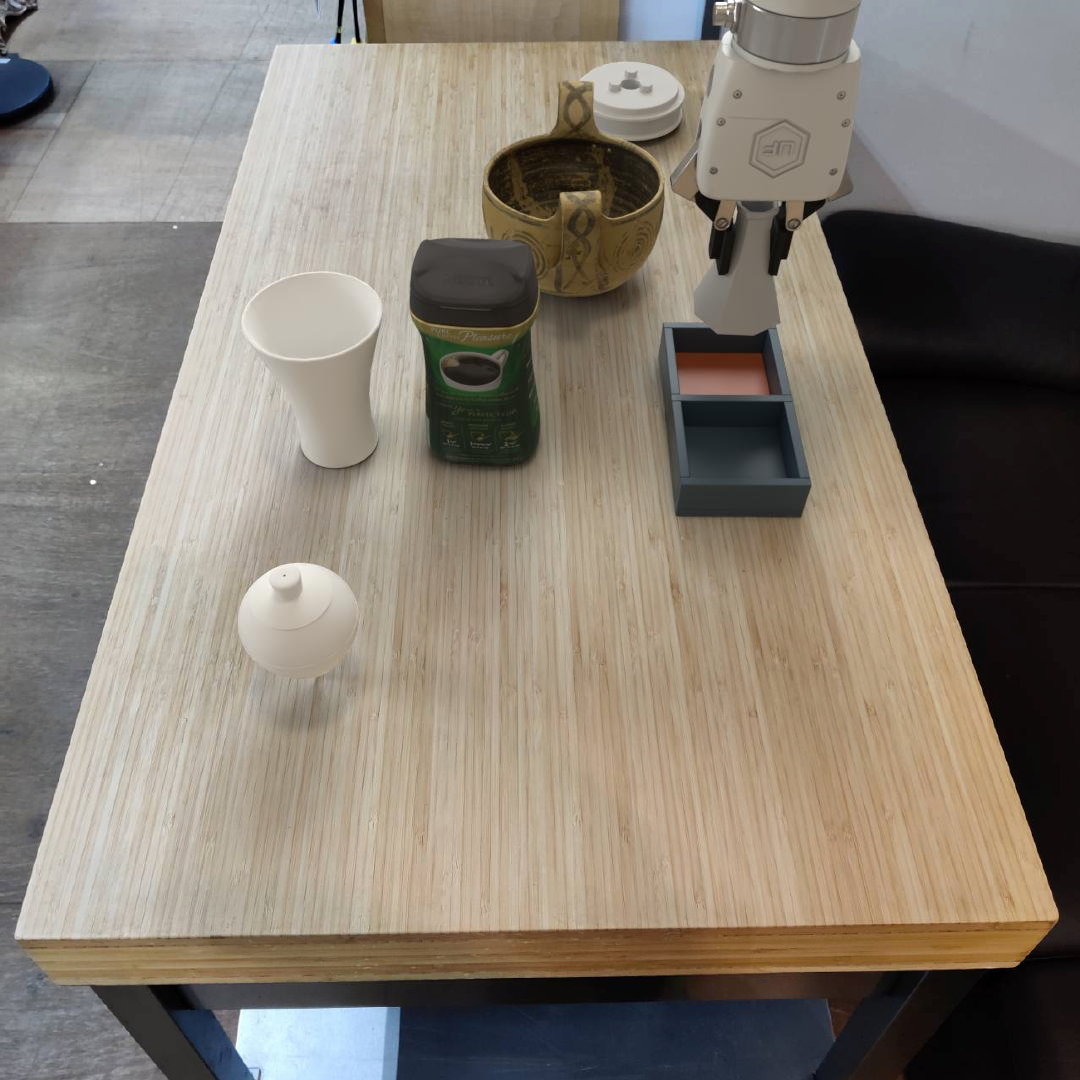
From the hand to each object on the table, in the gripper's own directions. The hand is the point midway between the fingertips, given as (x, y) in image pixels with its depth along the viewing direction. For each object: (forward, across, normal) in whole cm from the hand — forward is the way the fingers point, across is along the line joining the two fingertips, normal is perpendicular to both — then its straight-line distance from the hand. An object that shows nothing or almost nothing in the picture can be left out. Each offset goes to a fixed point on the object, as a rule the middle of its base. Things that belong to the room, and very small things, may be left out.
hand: (745, 262), depth 77 cm
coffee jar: (+14, -21, -6) cm, 26 cm away
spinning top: (+14, -32, -29) cm, 45 cm away
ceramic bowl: (+14, -13, +17) cm, 26 cm away
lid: (+14, -6, +47) cm, 49 cm away
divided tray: (+14, 0, -5) cm, 15 cm away
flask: (+5, 0, 0) cm, 5 cm away
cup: (+14, -33, -6) cm, 36 cm away
